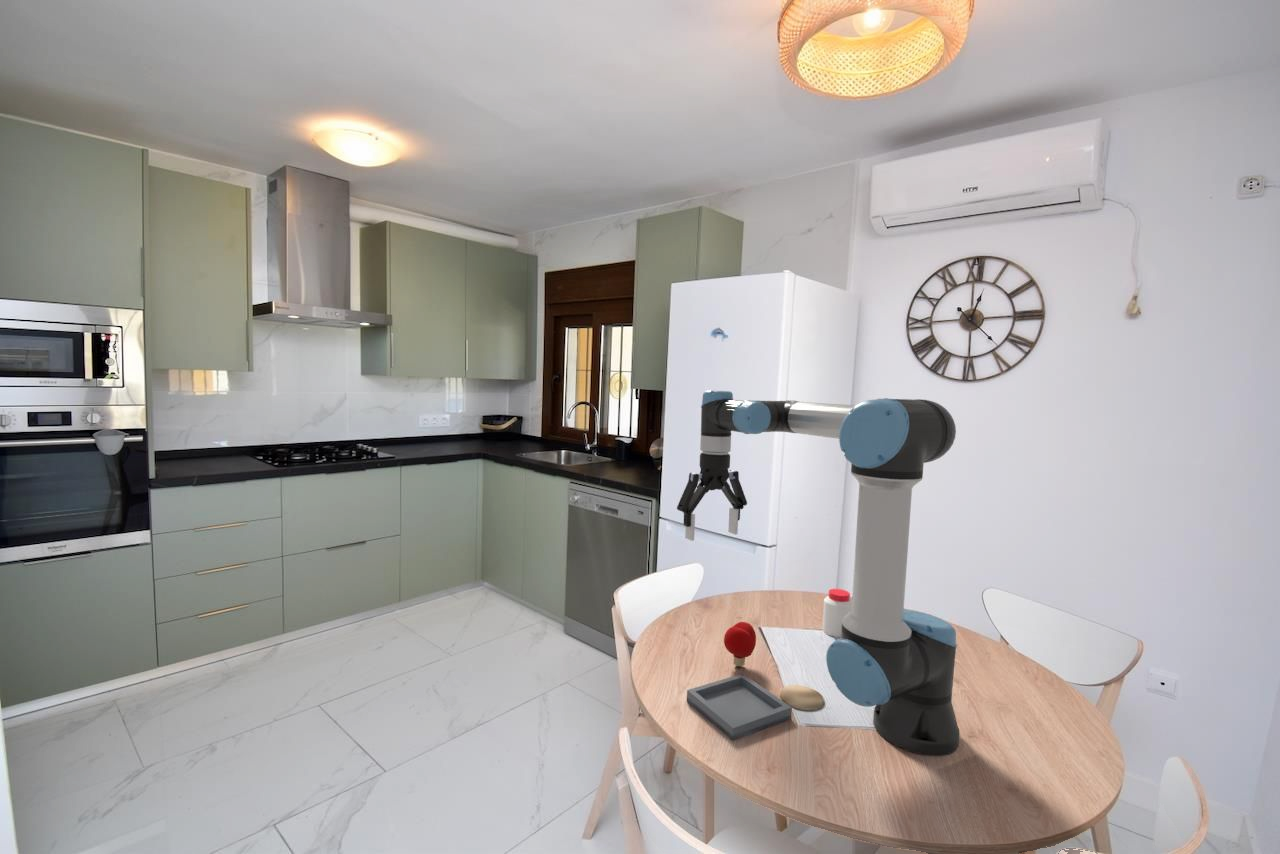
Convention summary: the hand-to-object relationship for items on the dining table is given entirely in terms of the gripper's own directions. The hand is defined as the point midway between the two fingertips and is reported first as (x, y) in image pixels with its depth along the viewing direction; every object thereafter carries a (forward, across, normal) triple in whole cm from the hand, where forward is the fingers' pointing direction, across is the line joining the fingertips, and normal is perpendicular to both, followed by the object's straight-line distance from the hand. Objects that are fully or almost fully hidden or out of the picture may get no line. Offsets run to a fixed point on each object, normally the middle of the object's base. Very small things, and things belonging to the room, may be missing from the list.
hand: (711, 536), depth 146 cm
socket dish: (+28, +13, +27) cm, 41 cm away
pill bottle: (+28, -36, +10) cm, 47 cm away
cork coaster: (+28, -2, +30) cm, 41 cm away
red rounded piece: (+28, +1, +13) cm, 31 cm away
